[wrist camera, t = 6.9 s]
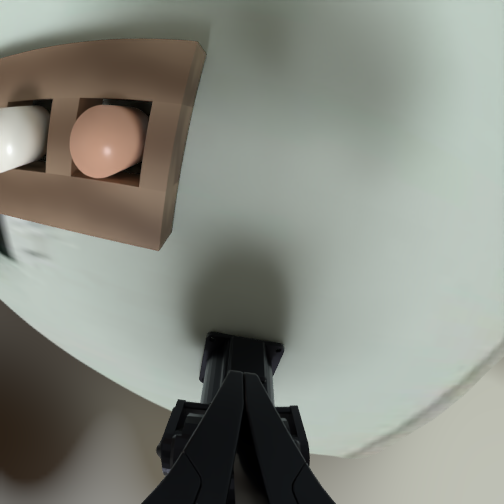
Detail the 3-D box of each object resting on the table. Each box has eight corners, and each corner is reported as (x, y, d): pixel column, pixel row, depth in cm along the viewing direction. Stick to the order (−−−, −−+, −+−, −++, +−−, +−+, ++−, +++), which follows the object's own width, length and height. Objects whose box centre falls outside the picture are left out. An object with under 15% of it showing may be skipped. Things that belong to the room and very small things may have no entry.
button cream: (50, 163, 15) (16, 175, 11) (14, 160, 14) (-18, 171, 11) (56, 104, 13) (22, 105, 10) (19, 106, 13) (-15, 110, 9)
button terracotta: (148, 171, 17) (126, 183, 14) (95, 163, 16) (67, 173, 13) (158, 109, 15) (137, 106, 12) (103, 104, 15) (74, 104, 11)
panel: (171, 232, 19) (159, 251, 16) (-24, 192, 17) (-44, 201, 14) (206, 54, 14) (197, 41, 11) (-15, 70, 12) (-37, 71, 9)
